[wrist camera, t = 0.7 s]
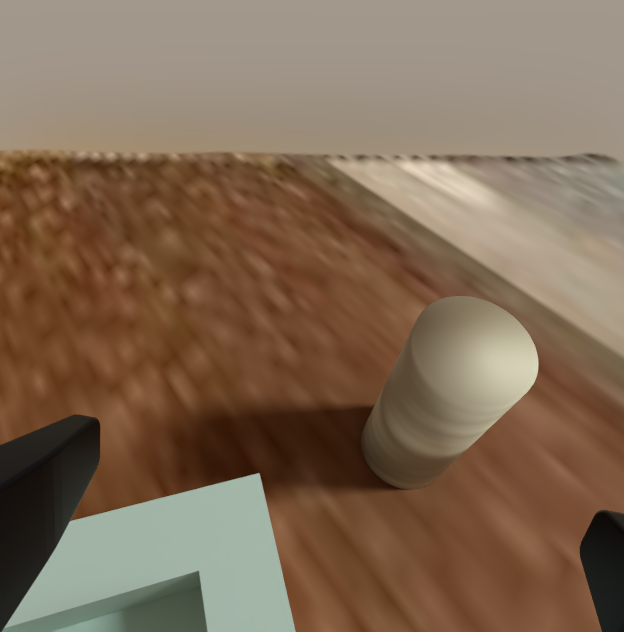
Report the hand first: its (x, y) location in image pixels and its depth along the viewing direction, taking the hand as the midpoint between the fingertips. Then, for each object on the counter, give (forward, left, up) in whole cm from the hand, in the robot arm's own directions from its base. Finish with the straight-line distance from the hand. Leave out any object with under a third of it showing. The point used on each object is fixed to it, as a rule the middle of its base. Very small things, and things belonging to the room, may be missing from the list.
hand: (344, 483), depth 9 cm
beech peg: (+5, -7, -15) cm, 18 cm away
